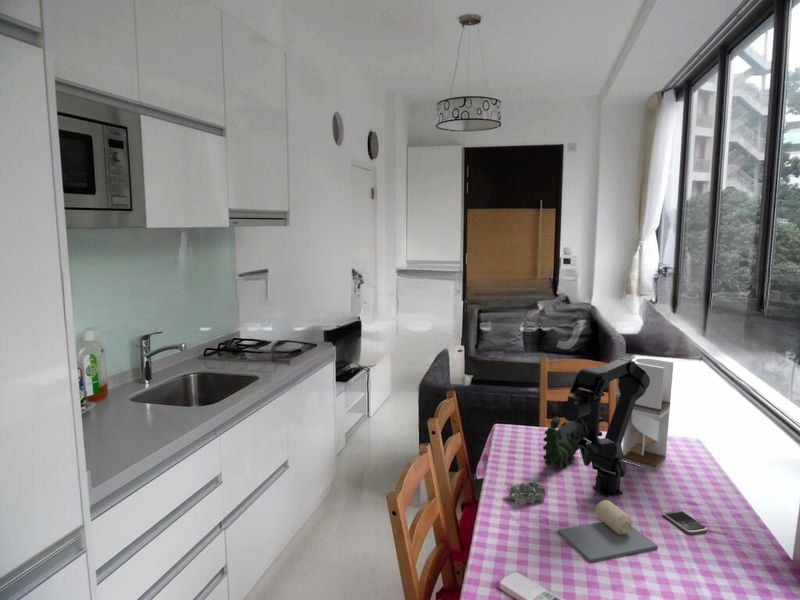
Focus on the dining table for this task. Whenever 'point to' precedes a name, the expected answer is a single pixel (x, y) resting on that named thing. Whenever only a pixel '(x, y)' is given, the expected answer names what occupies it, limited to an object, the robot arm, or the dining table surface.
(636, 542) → the rubber mat
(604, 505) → the candle
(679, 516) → the cell phone
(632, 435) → the display case
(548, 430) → the toy figurine
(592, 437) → the robot arm
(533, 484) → the grey jagged ring-shaped piece
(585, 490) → the dining table surface
